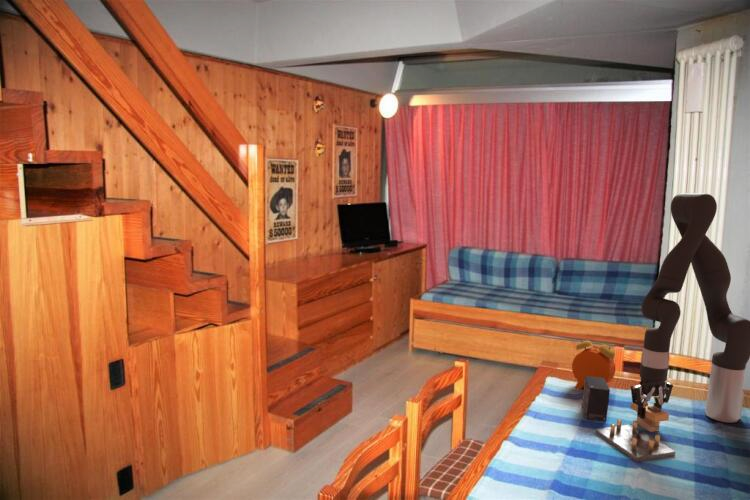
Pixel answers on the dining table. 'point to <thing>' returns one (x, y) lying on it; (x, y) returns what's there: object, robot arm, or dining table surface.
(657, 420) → the board
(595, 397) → the small box
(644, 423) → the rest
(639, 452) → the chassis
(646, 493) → the dining table surface
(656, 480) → the dining table surface
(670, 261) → the robot arm
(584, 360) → the alarm clock
